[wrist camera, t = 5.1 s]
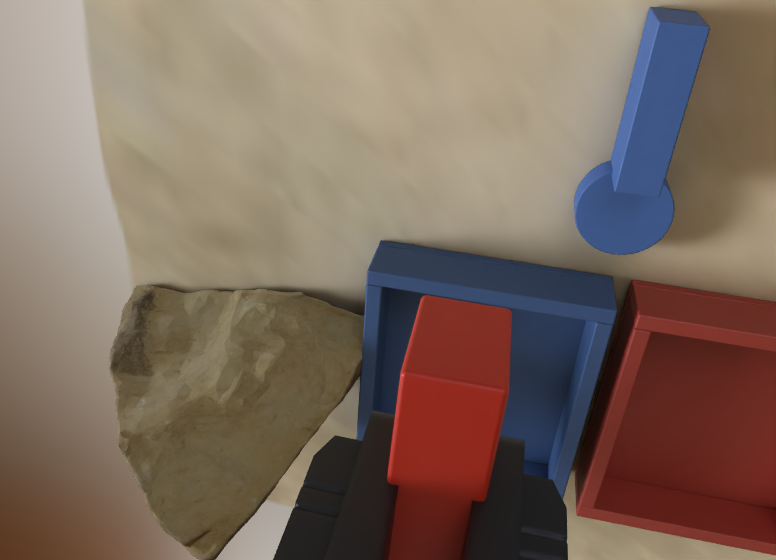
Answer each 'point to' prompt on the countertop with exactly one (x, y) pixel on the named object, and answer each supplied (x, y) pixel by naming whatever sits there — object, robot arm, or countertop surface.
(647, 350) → the red tray
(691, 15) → the blue spoon
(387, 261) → the blue tray
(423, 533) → the red spoon
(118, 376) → the rock
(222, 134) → the countertop surface
